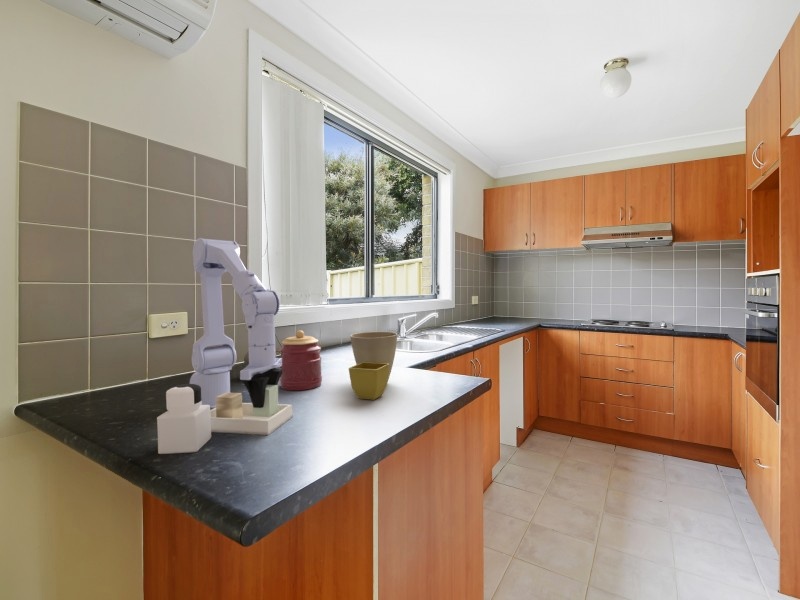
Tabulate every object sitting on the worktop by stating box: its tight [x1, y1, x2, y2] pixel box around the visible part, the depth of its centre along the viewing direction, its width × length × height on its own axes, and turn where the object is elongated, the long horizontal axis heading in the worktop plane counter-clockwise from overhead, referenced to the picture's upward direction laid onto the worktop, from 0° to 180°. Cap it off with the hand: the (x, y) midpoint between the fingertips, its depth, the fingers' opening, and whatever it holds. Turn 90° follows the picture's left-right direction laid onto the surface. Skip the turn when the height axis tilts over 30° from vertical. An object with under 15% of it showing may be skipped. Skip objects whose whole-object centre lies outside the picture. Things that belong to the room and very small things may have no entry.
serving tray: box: [210, 402, 293, 436], centre depth 88 cm, size 17×11×3 cm, turn 80°
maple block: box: [216, 392, 243, 419], centre depth 89 cm, size 4×4×6 cm
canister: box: [278, 329, 323, 391], centre depth 122 cm, size 13×13×18 cm
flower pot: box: [348, 362, 389, 401], centre depth 108 cm, size 9×9×9 cm
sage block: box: [253, 384, 279, 417], centre depth 87 cm, size 4×4×6 cm
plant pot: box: [349, 331, 398, 384], centre depth 122 cm, size 15×15×16 cm
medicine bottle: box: [156, 383, 212, 455], centre depth 76 cm, size 7×7×12 cm
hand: (263, 404), depth 87 cm, fingers closed on sage block, 4 cm apart
